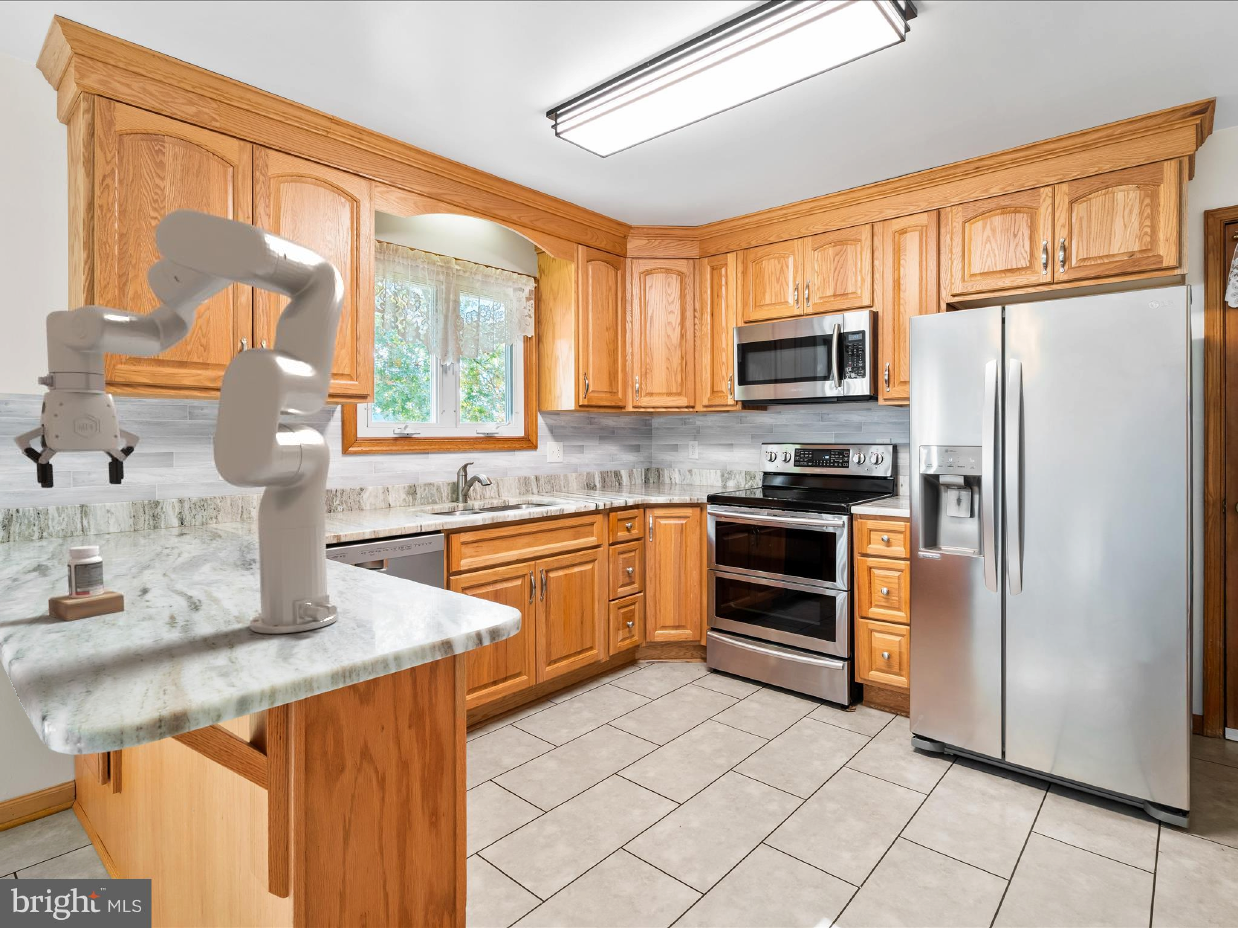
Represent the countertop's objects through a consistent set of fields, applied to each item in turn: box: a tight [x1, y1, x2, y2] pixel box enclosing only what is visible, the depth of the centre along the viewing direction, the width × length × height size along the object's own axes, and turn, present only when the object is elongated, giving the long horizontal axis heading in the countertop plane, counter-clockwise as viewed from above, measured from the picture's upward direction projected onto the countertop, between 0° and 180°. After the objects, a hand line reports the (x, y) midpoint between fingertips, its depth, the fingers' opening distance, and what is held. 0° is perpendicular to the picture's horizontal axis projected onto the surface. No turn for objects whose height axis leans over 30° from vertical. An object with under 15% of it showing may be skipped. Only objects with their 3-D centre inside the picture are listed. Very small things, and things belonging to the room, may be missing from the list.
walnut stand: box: [47, 589, 125, 622], centre depth 116 cm, size 8×8×3 cm
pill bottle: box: [67, 545, 104, 598], centre depth 116 cm, size 5×5×8 cm
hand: (82, 485), depth 116 cm, fingers open, 9 cm apart
